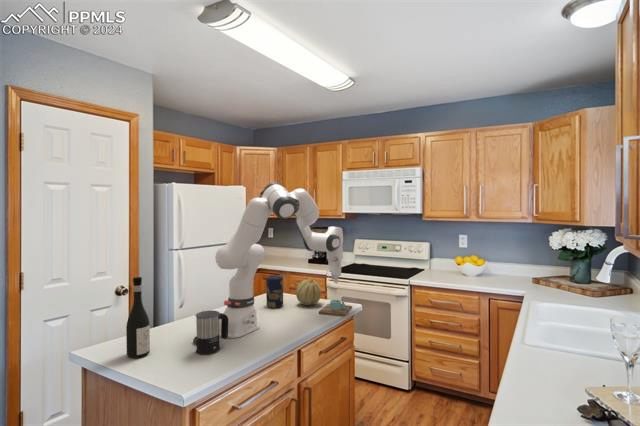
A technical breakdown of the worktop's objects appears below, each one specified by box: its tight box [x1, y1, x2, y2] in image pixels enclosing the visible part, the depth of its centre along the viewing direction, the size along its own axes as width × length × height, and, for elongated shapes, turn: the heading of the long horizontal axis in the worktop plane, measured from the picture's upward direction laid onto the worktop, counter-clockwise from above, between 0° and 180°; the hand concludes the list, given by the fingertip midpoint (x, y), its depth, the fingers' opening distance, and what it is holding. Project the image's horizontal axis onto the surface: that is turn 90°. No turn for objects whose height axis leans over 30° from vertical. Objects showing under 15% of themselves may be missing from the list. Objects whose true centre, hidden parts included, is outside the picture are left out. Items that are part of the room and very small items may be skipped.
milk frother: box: [192, 310, 228, 356], centre depth 151 cm, size 14×16×15 cm
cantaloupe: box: [295, 278, 322, 307], centre depth 213 cm, size 15×15×15 cm
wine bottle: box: [125, 276, 151, 359], centre depth 143 cm, size 8×8×30 cm
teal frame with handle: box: [329, 299, 346, 310], centre depth 201 cm, size 8×5×4 cm
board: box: [318, 301, 353, 317], centre depth 201 cm, size 16×14×5 cm
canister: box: [265, 274, 284, 309], centre depth 210 cm, size 10×10×18 cm
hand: (334, 281), depth 202 cm, fingers open, 8 cm apart
